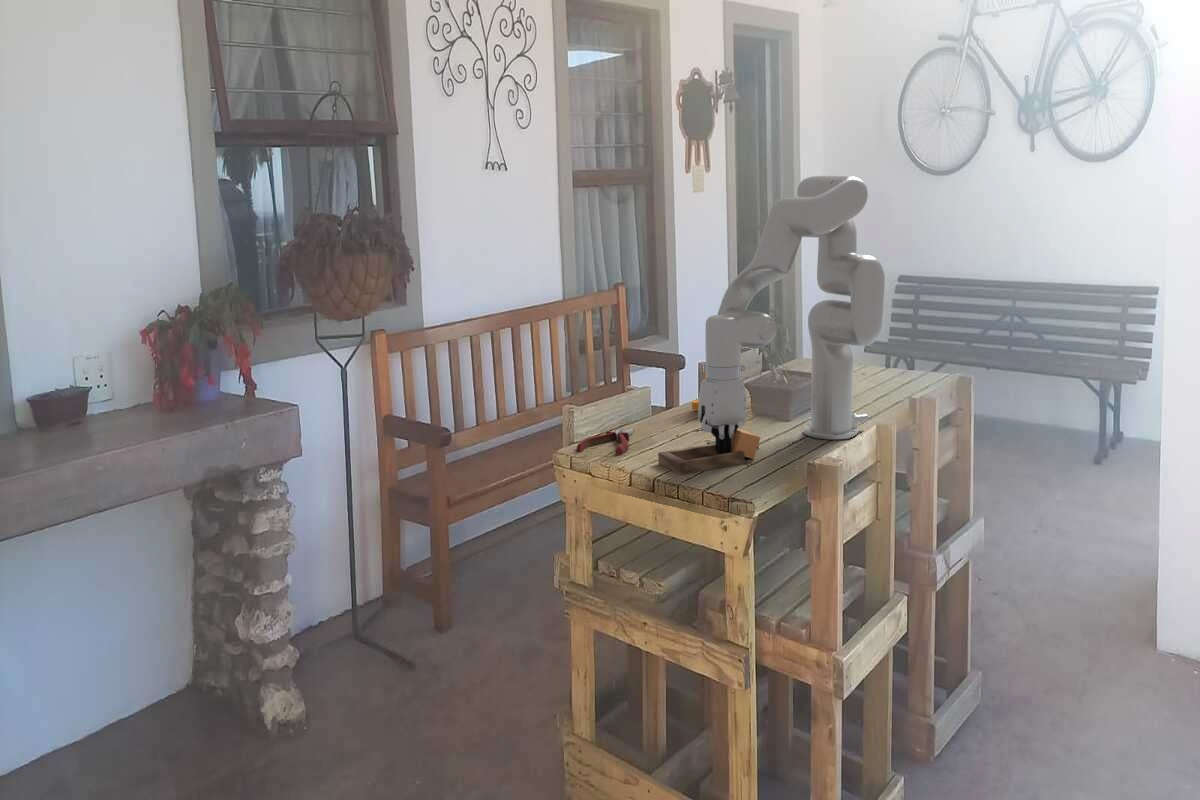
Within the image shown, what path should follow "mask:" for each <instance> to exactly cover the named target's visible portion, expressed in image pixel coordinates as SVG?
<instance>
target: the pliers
mask: <svg viewBox="0 0 1200 800" xmlns="http://www.w3.org/2000/svg"><path fill="white" fill-rule="evenodd" d="M635 431H636V430H635V429H634V428H631V429H625V428H624V427H623V428H620V429H618V430H616V431H610V430H608V431H606V432H605V434H601V435H597V436H593V437H589V438H586V439H583V440H581V441H580V442H579V443H578V444H577V446H576V451H577V453H582V452H584V451H585V450H586V449H589V448H590V447H595V446H599V445H602V444H607V443H612V442H615V441H618V443H619V444H618V445H617V446H616V448H615V456H620V455H619V454H622V455H624V454H625V453H626V451H627V450H629V448H630V446H629V442H630V436H631V435H632V434H633V433H634V432H635ZM584 449H585V450H584ZM627 452H628V451H627ZM623 453H624V454H623ZM617 454H618V455H617Z"/></svg>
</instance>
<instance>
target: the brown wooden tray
mask: <svg viewBox="0 0 1200 800" xmlns="http://www.w3.org/2000/svg"><path fill="white" fill-rule="evenodd" d="M657 455H658V465H660V466H662V467H664V468H667V469H668V470H669V471H672V472H675V474H677V475H678V474H679V475H685V474H690V473H691V474H692V473H697V472H703V471H709V470H713V469H719V468H726V467H730V466H731V467H732V466H735V465H736V466H737V465H741V464H745V457H744V452H743V451H737V452H731V453H725V454H719V455H718V454H717V453H716V443H713V444H707V443H706V444H701V445H695V446H690V447H684V448H678V449H674V450H667V451H666V450H665V451H660V452H658V453H657Z"/></svg>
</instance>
